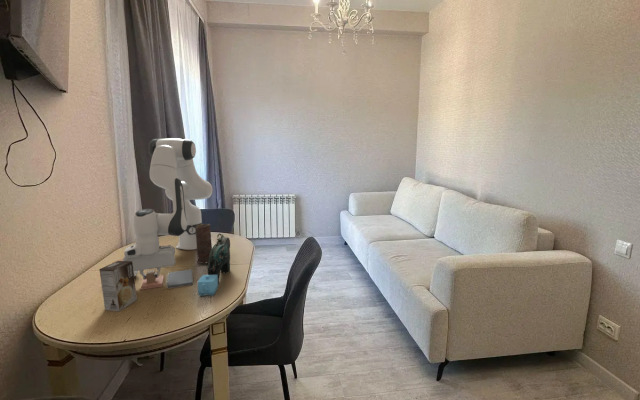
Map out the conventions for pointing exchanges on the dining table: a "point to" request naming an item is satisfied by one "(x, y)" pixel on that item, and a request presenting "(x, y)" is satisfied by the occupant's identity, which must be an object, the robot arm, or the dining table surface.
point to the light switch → (152, 280)
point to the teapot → (207, 285)
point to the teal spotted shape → (219, 257)
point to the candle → (203, 242)
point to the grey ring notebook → (179, 279)
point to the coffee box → (118, 285)
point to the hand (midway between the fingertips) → (151, 278)
